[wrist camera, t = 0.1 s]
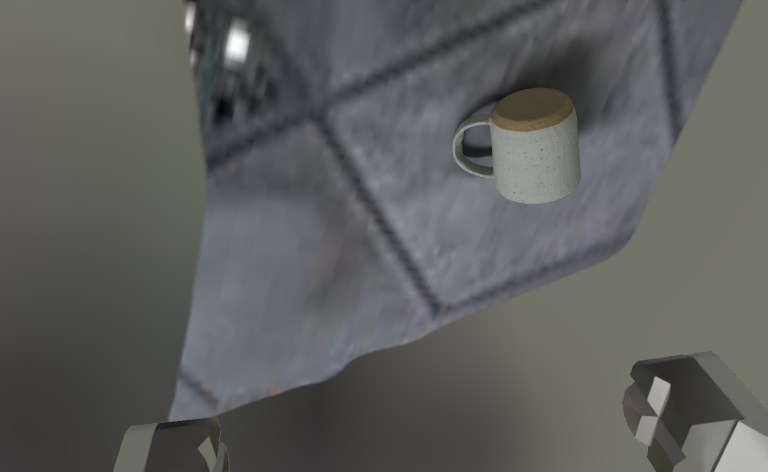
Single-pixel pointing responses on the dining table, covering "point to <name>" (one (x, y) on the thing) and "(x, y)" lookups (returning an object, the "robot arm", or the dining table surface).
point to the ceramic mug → (529, 146)
